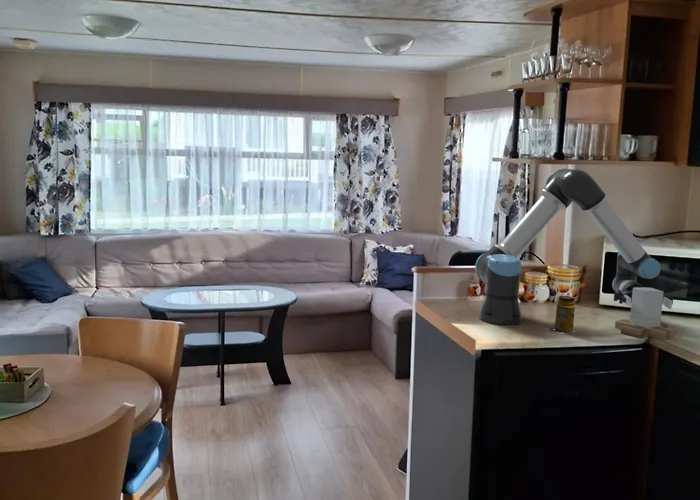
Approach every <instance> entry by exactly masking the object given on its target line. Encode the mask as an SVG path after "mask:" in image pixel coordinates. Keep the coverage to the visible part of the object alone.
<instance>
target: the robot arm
mask: <svg viewBox="0 0 700 500" xmlns="http://www.w3.org/2000/svg"><path fill="white" fill-rule="evenodd" d="M540 194H541V196H540V197H539V198H538V200H537V201H536V202H535V203H534V204H533V205H532V207H531V208H530V209H529V210H528V211H527V212H526V214H525V215H524V216H523V217H522V218H521V219H520V220H519V221H518V222H517V224H516V225H515V226H514V228H512V229H511V230H510V231H509V233H508V234H507V235H506V237H504V239H503V240H502V241H501V242H500V243H497V244H493V246H491V248H490V249H489V250H488V251H487V252H484V253H482V254H481V255H480V256H479V257H478V258H477V260H476V262H475V265H474V268H475V269H474V270H475V273H476V275H477V277H478V278H479V280H480V281H482V283H485V284H486V289H485V291H486V292H485V299H484V301H483V303H482V306H481V309H480V310H479V319H480V320H481V321H483V322H486V323H491V324H495V325H508V326H509V325H511V326H512V325H518V324H520V323H522V322H523V314H522V310H521V306H520V301H519V298H520V297H519V296H520V295H519V294H520V283H521V272H522V266H521V265H522V263H521V260H520V259H519V257H521V255H522V254H523V253H524V252H525V250H526V249H527V248H529V246H530V245H531V243H533V241H535V239H536V238H537V237H538V236H539V235H540V234H541V232H542V231H543V230H544V229H545V227H547V225H548V224H549V223H550V222H551V221H552V219H554V217H555V216H556V215H558V212H559V211H560V212H561V211H566V209H568V207H569V206H570V205H571V204H572V203H574V204H576V205H577V206H578V207H579V208H580V210H582V211H583V212H587V213H588V214H589V216H590V217H591V219H592V220H593V221H594V222H595V224H596V225H597V226H598V227H599V228H600V230H601V231H602V232H603V234H604V235H605V236H606V237H607V238H608V240H609V242H611V244H612V245H613V246H614V248H615V249H616V250H617V251H618V253H617V256H616V257H617V258H616V272H615V277H614V278H613V280H612V282H611V283H612V284H611V285H612V289H613V291H614V293H613V301H614V302H617V301H618V304H620V305H621V304H622V305H623V304H625V305H627V306H628V307H631V303H632V293H633V288H645V287H644V286H643V285H641V284H640V283H639V282H637V279H638V278H637V277H641V278H643V279H649V280H652V279H654V278H656V277H658V276H659V275H660V272H661V264H660V263H659V261H658V260H656V259H655V258H653V257H651V256H650V255H649V254H648V252H647V251H646V250H645V248H643V246H642V245H641V243H639V241H638V240H637V238H636V237H635V236H634V235H633V233H632V231H630V229H629V228H628V227H627V225H626V224H625V223H624V222H623V220H622V219H621V218H620V216H619V215H618V214H617V212H616V211H615V210H614V209H613V207H612V206H611V204H610V203H609V202H608V201H607V200H606V198H607V197H606V196H607V194H606V193H605V192H604V190H603V189H602V188H601V187H600V186H599V184H598V183H597V182H596V180H595V179H594V178H593V177H592V176H591V175H590V174H589V173H588V172H587V171H584V170H583V169H571V168H561V169H556V170H555V171H553V172H552V173H551V174H550V175H549V176H547V179H546V182H545V185H544V187H543V188H542V189H541V192H540ZM673 305H674V297H673V296H670V295H665V294H663V303H662V306H664V307H666V308H667V309H669V310H672V308H673Z"/></svg>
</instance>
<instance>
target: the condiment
mask: <svg viewBox="0 0 700 500" xmlns="http://www.w3.org/2000/svg"><path fill="white" fill-rule="evenodd" d="M555 310H556V311H555V321H554V327H551V328H549V327H548V328H546V330H547V331H550V332H553V333H556V334H559V335H566V334H573V333H578V332H579V331H577V330H574V321H575V310H576V306H575V297H574V296H570V295H558V300H557V303H556V309H555ZM553 329H555V330H553ZM561 332H563V333H561Z"/></svg>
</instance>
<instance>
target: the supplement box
mask: <svg viewBox="0 0 700 500" xmlns="http://www.w3.org/2000/svg"><path fill="white" fill-rule="evenodd" d="M664 293H665V292H664V291H663V290H660V289H656V288H653V287H644V288H633V293H632V303H631V306H630V315H629V320H630V322H631V323H634V324H636V325H638V326H641V327H660V323H662V322H661V320H662V312H663V311H662V309H663V304H662V303H663V295H664Z"/></svg>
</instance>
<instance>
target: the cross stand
mask: <svg viewBox="0 0 700 500" xmlns="http://www.w3.org/2000/svg"><path fill="white" fill-rule="evenodd" d="M614 328H615V329H618V330H620V334H622V335H626V336H630V337H634V338H638V339H641V338H646V337H649V338H651V337H652V338H655V339H660V340H665V341H666V340H669V339H673V338H675V337H676V329H674V328H673V329H672V328H668V323H663V322H660V327H641V326H638V325H636V324H634V323H631V322H630V318H624V319H619V320H618V319H617V320H615V323H614Z"/></svg>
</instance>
